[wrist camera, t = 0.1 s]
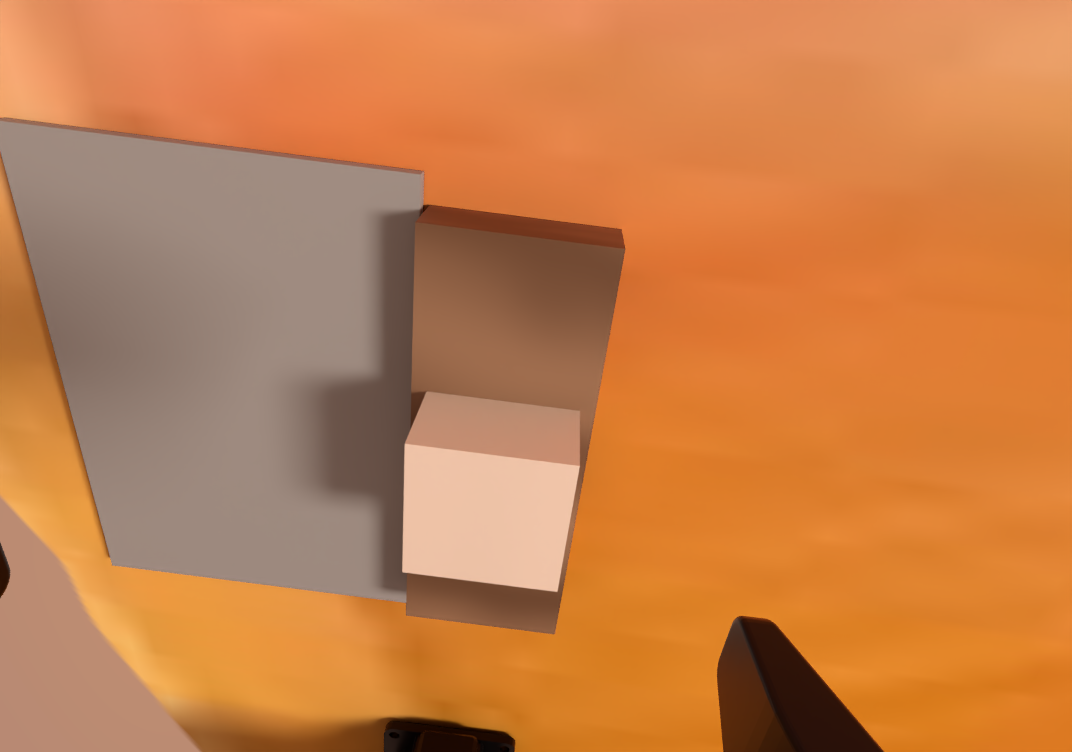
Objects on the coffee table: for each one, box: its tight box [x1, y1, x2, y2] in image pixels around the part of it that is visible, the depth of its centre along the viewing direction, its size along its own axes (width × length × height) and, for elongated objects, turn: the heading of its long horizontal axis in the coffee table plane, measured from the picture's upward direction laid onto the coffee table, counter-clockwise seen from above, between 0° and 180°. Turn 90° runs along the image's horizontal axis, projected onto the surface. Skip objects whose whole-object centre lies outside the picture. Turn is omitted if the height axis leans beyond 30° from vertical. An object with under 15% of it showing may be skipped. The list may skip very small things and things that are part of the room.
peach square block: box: [402, 391, 580, 592], centre depth 21 cm, size 5×5×3 cm
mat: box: [0, 118, 424, 603], centre depth 24 cm, size 18×13×1 cm
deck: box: [406, 205, 625, 634], centre depth 23 cm, size 16×6×2 cm, turn 174°
